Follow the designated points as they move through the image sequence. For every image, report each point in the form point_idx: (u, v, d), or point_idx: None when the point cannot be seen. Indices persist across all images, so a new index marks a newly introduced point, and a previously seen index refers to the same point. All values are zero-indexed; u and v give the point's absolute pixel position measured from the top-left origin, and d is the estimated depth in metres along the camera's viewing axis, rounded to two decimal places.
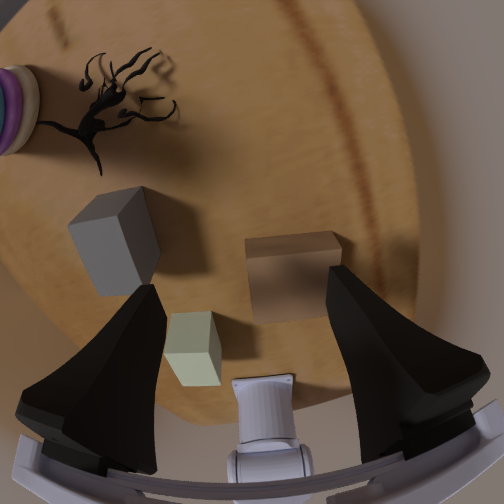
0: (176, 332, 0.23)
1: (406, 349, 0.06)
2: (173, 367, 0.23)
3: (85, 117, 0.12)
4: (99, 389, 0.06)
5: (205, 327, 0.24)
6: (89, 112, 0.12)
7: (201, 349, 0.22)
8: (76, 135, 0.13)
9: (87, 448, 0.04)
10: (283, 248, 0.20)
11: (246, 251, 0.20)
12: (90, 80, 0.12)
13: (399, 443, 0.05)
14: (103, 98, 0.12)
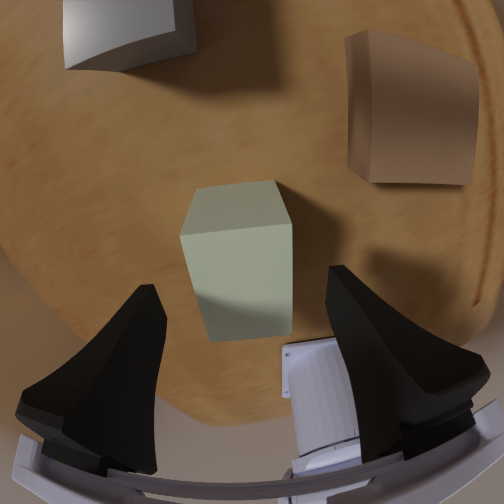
0: (209, 205, 0.12)
1: (406, 349, 0.06)
2: (197, 284, 0.11)
3: None
4: (99, 389, 0.06)
5: (270, 195, 0.12)
6: None
7: (273, 221, 0.10)
8: None
9: (87, 448, 0.04)
10: None
11: (360, 33, 0.08)
12: None
13: (399, 443, 0.05)
14: None
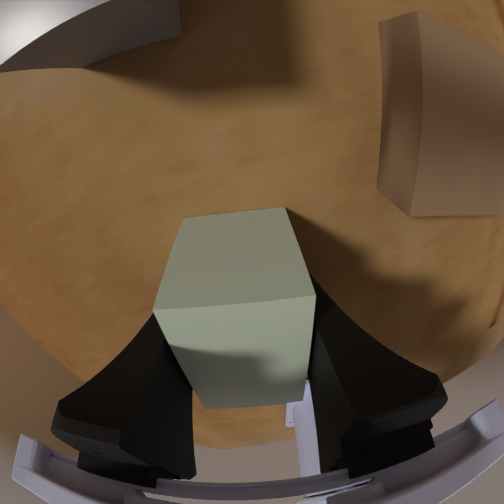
0: (197, 252, 0.08)
1: (351, 363, 0.06)
2: (183, 361, 0.08)
3: None
4: (149, 394, 0.06)
5: (281, 236, 0.09)
6: None
7: (287, 289, 0.07)
8: None
9: (142, 460, 0.04)
10: None
11: (403, 15, 0.05)
12: None
13: (345, 460, 0.05)
14: None
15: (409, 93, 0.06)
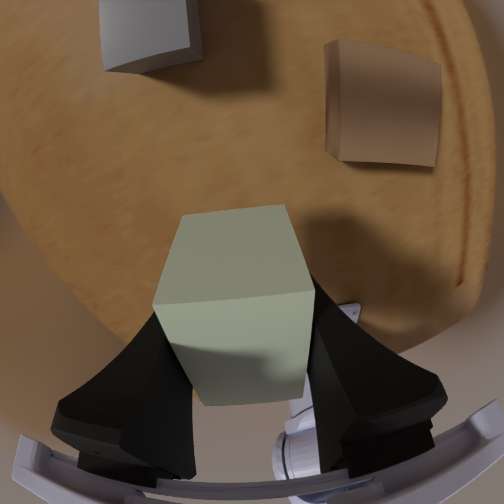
0: (197, 248, 0.08)
1: (351, 363, 0.06)
2: (182, 357, 0.08)
3: None
4: (149, 394, 0.06)
5: (280, 232, 0.09)
6: None
7: (287, 284, 0.07)
8: None
9: (141, 460, 0.04)
10: None
11: (334, 41, 0.11)
12: None
13: (345, 460, 0.05)
14: None
15: (335, 88, 0.12)
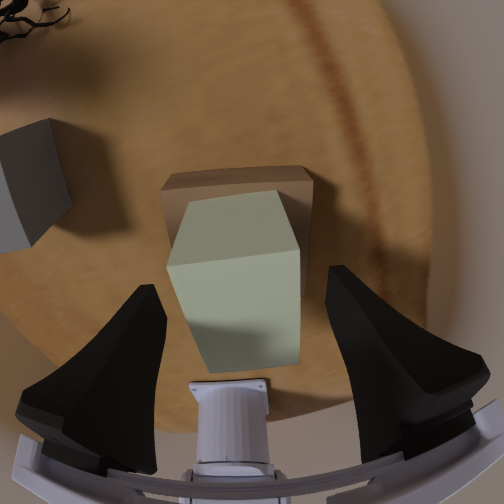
0: (202, 224, 0.10)
1: (406, 349, 0.06)
2: (190, 318, 0.09)
3: None
4: (99, 389, 0.06)
5: (273, 210, 0.10)
6: None
7: (277, 246, 0.08)
8: None
9: (87, 448, 0.04)
10: (220, 179, 0.12)
11: (166, 184, 0.12)
12: None
13: (399, 443, 0.05)
14: (5, 7, 0.04)
15: None
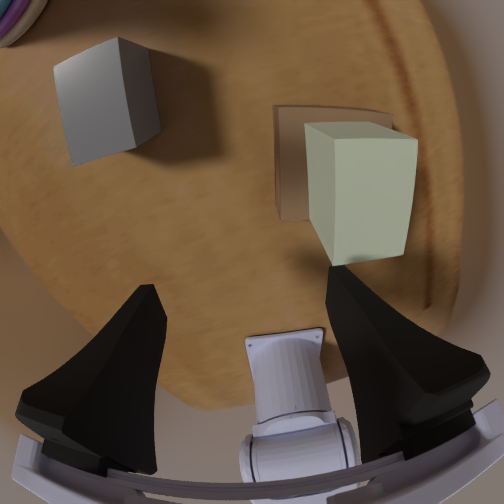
0: (335, 128, 0.11)
1: (406, 349, 0.06)
2: (339, 193, 0.11)
3: None
4: (99, 389, 0.06)
5: (380, 127, 0.12)
6: None
7: (403, 137, 0.09)
8: None
9: (87, 448, 0.04)
10: (323, 107, 0.14)
11: (277, 106, 0.14)
12: None
13: (399, 443, 0.05)
14: None
15: (278, 154, 0.15)
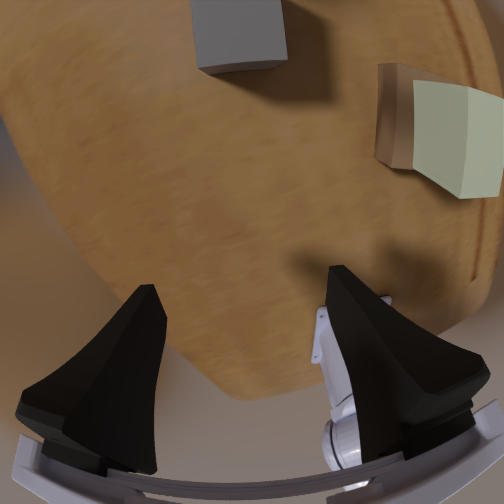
0: None
1: (406, 349, 0.06)
2: (469, 131, 0.09)
3: None
4: (99, 389, 0.06)
5: None
6: None
7: (498, 97, 0.08)
8: None
9: (87, 448, 0.04)
10: None
11: (390, 63, 0.12)
12: None
13: (399, 443, 0.05)
14: None
15: (390, 105, 0.13)
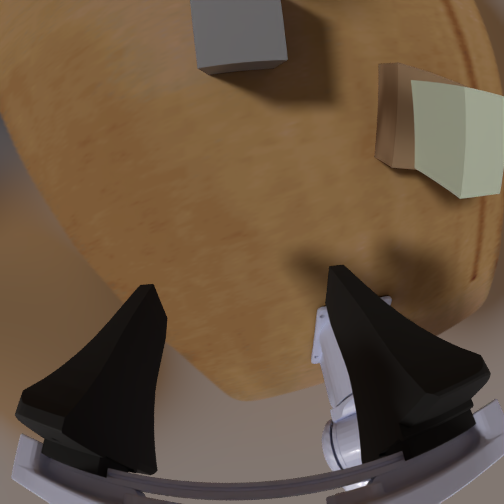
0: None
1: (406, 349, 0.06)
2: (468, 131, 0.09)
3: None
4: (99, 389, 0.06)
5: None
6: None
7: None
8: None
9: (87, 448, 0.04)
10: None
11: (391, 63, 0.12)
12: None
13: (399, 443, 0.05)
14: None
15: (391, 104, 0.13)
